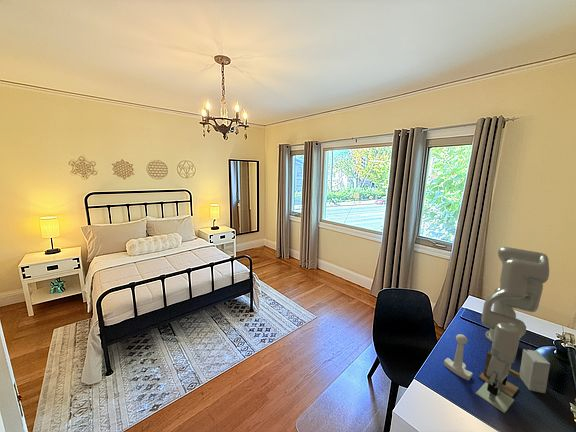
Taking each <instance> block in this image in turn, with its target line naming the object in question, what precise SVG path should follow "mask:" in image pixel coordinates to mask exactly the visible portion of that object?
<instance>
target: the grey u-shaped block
mask: <svg viewBox="0 0 576 432" xmlns="http://www.w3.org/2000/svg"><path fill="white" fill-rule="evenodd" d="M496 379H497V378H496ZM497 380H498V379H497ZM494 383H495V384H496V383H497V381H494ZM502 385H503V381H502V382H501V383H499V384H498V392H497V395H500V394H501V390H502ZM489 399H490V400H492V401H493V402H494V401H495V400H496V396H495V395H493V394H492V393H490V395H489Z"/></svg>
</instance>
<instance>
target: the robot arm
mask: <svg viewBox="0 0 576 432" xmlns="http://www.w3.org/2000/svg"><path fill="white" fill-rule="evenodd" d="M497 255H498V258H499V260H500V261H501V262H502V267H501V273H500V280H499V282H500V284H499V285H500V286H499V287H496V288H495V289H494V292H493V293H492V294H490V295H489V296H488V297H487V298H486V299H485V301H484V304H483V307H482V314H481V324H482V326H484V327H486V328H488V329H489V330H486V331H485V334H484V335H485V338H486V339H488V341H490V342H491V343H492V344H491V349H490V351H491V354H492V357H491V360H490V363H489V367H488V371H487V376H489V377H490V376H491V377H490V379H489V382H488V387H487V391H489V392H490V393H492V394H493V395H495V396H497V392H498V384H499V383H501V382H502V381H503V385H506V381H508V375H509V374H510V373H509V372H510V369H511V368H512V367H511V366H512V364H514V363H515V362H516V358H517V353H518V349H519V344H520V340H521V338H522V337H523V336H525V334H526V333H527V326H526V324H525V322H524V321H523V320H521V319H520V318H517V314H516V311H515V310H514V309H516V310H521V311H524V312H528V313H535V312H536V311H537V310H538V309H539V305H540V301H541V298H542V294H543V289H544V284H545V283H546V282H548V280H549V278H550V277H549V276H550V265H549V264H550V262H549V257H548V256H547V254H546V253H543V252H537V251H533V250H532V251H531V250H525V249H521V248H520V249H519V248H514V247H509V246H502V247H500V248H499V249H498V250H497ZM492 306H493V308H492ZM492 309H493V310H492ZM496 378H497V379H498V380H497V379H496ZM494 381H497V383H496V384H495V383H494Z"/></svg>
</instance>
